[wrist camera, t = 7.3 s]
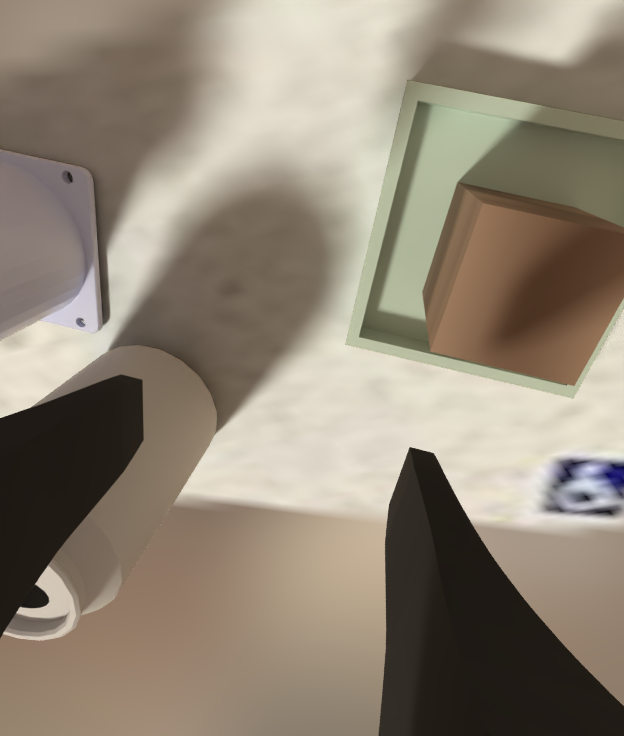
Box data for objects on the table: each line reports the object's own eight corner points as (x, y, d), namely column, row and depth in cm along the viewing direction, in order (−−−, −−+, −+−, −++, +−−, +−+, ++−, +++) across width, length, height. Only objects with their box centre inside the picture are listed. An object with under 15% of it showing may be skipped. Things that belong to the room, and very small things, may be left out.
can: (113, 445, 27) (-65, 637, 17) (83, 333, 24) (-166, 489, 13) (229, 458, 26) (115, 674, 16) (215, 342, 23) (56, 520, 12)
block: (422, 292, 19) (430, 351, 14) (457, 182, 17) (482, 203, 12) (525, 316, 19) (574, 385, 14) (575, 207, 17) (655, 240, 11)
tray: (348, 330, 21) (345, 344, 20) (407, 84, 16) (407, 79, 15) (561, 380, 20) (573, 398, 19) (689, 138, 15) (717, 139, 14)
